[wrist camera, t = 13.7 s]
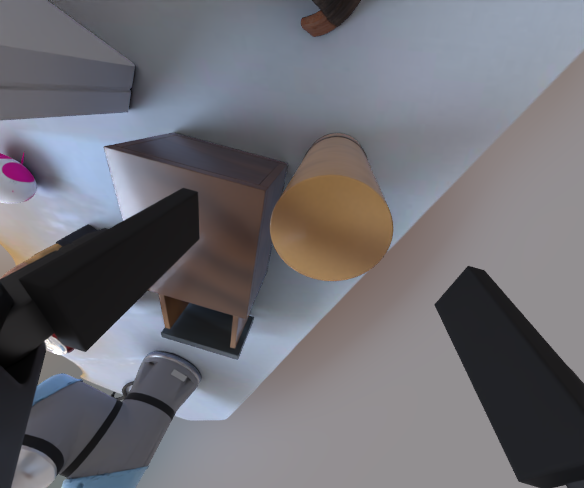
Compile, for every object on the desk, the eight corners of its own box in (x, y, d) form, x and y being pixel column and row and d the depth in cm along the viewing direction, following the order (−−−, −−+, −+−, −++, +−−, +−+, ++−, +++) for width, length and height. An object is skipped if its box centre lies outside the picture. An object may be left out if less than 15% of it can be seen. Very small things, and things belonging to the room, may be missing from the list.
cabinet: (267, 271, 34) (246, 319, 27) (183, 247, 35) (140, 288, 27) (288, 163, 25) (265, 190, 17) (173, 132, 25) (103, 146, 18)
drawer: (250, 334, 43) (236, 373, 37) (189, 316, 43) (165, 351, 37) (265, 254, 31) (247, 291, 25) (181, 231, 32) (145, 261, 26)
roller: (352, 200, 26) (364, 294, 14) (298, 186, 26) (261, 264, 14) (376, 141, 22) (421, 195, 10) (313, 125, 22) (280, 157, 10)
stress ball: (72, 175, 35) (38, 168, 29) (35, 212, 35) (-8, 214, 28) (20, 136, 33) (-30, 120, 26) (-21, 176, 32) (-81, 169, 26)
